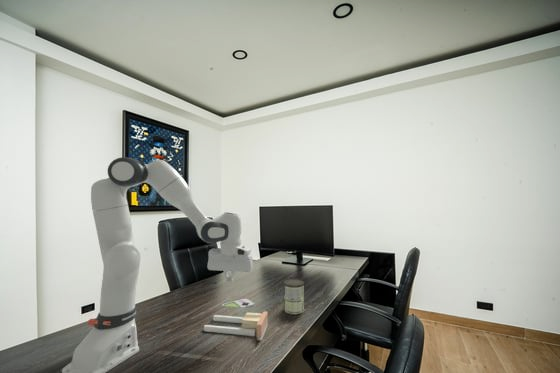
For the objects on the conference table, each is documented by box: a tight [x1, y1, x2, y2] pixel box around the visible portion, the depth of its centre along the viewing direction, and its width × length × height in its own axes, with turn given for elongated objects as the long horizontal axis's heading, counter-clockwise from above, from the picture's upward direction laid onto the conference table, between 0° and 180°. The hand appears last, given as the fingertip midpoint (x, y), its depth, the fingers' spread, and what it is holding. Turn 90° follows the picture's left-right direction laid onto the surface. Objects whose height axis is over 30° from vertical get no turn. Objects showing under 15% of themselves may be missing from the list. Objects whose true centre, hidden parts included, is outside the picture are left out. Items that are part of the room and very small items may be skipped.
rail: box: [201, 310, 269, 341], centre depth 103 cm, size 12×26×6 cm, turn 81°
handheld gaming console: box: [221, 298, 255, 309], centre depth 127 cm, size 10×2×15 cm
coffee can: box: [283, 278, 305, 315], centre depth 123 cm, size 10×10×14 cm
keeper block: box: [241, 312, 262, 335], centre depth 101 cm, size 7×7×5 cm
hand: (229, 281), depth 104 cm, fingers closed
